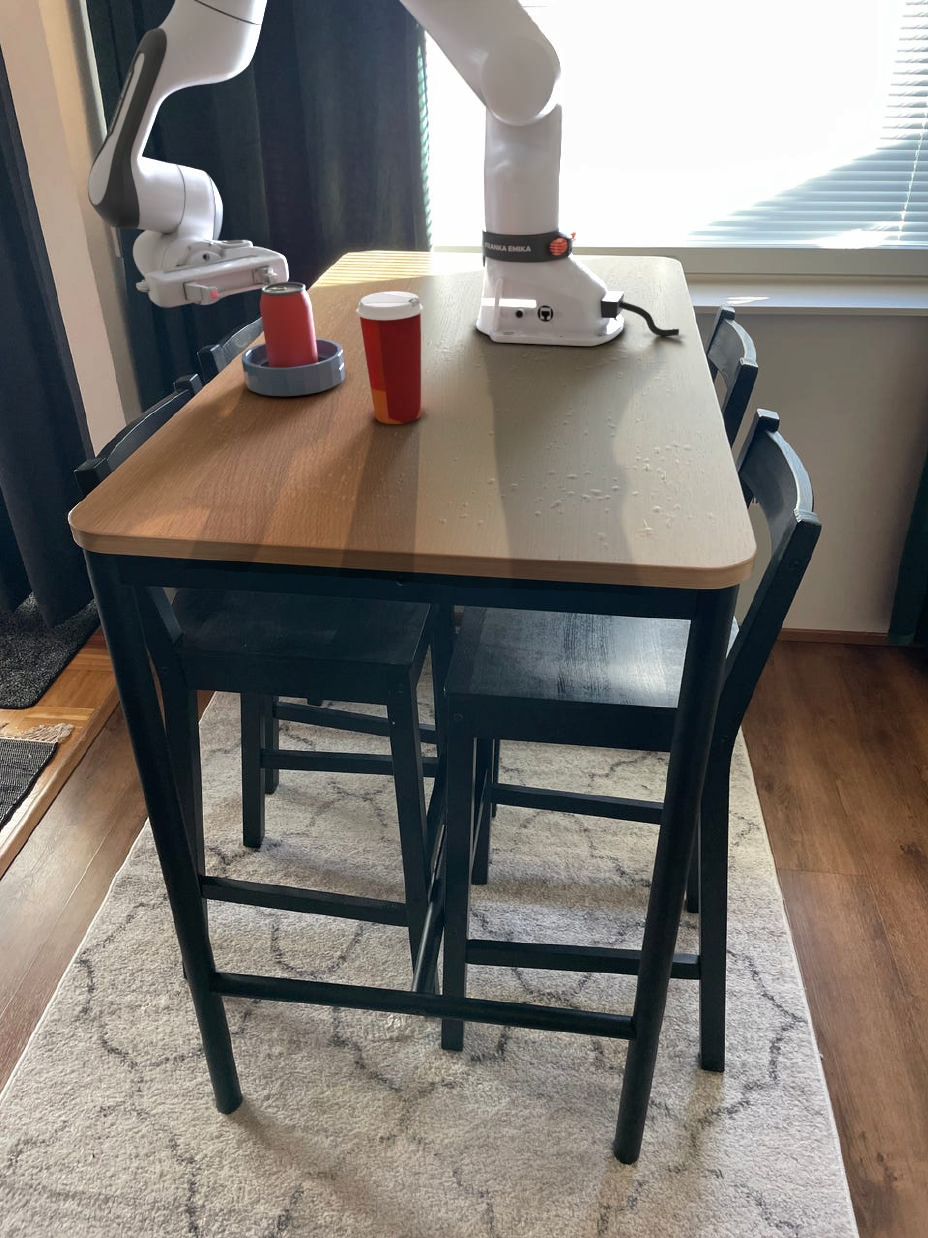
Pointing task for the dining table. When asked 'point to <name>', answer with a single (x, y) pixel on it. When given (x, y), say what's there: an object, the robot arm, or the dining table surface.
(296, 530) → the dining table surface
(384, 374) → the paper cup
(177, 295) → the robot arm
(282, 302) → the beer can
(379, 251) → the dining table surface
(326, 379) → the bowl
